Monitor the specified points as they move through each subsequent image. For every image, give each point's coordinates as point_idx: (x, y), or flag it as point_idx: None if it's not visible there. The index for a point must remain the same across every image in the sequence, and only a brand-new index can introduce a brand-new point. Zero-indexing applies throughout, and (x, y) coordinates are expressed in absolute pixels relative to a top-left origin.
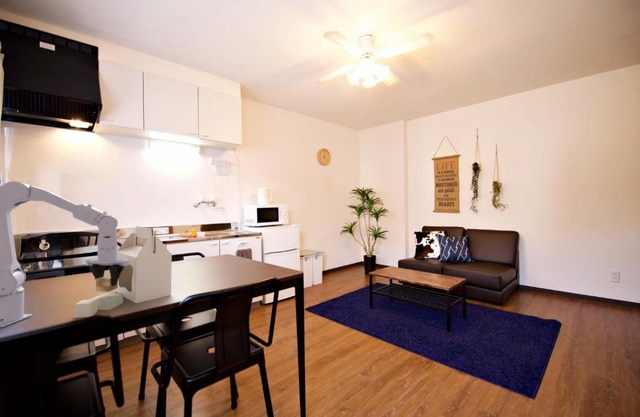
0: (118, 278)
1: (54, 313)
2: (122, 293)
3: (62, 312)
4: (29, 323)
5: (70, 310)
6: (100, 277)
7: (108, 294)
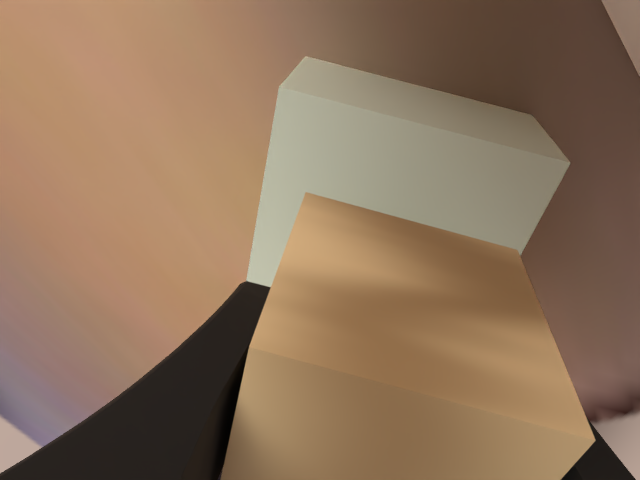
0: (608, 453)
1: (53, 270)
2: (562, 172)
3: (94, 262)
4: (64, 395)
5: (119, 230)
6: (227, 468)
7: (371, 178)
